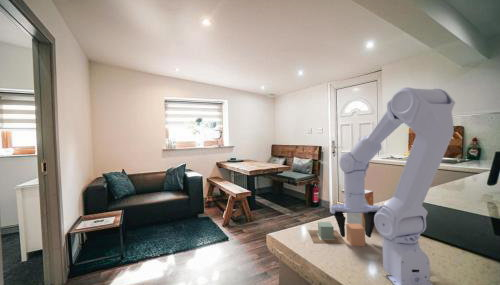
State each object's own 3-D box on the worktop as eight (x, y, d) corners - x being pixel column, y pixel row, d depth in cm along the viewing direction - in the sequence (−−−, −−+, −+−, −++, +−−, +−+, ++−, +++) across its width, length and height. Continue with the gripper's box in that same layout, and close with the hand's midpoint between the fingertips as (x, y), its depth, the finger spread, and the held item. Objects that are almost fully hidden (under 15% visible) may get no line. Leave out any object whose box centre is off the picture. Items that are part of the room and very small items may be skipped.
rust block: (365, 248, 64) (364, 228, 64) (351, 248, 64) (351, 228, 64) (359, 242, 68) (359, 223, 68) (346, 242, 68) (346, 223, 68)
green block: (333, 239, 69) (333, 226, 69) (321, 239, 69) (320, 226, 69) (330, 233, 73) (329, 222, 73) (318, 233, 73) (317, 222, 73)
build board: (346, 246, 66) (346, 243, 66) (313, 246, 66) (313, 243, 66) (336, 232, 76) (336, 230, 76) (307, 232, 76) (307, 229, 76)
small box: (362, 230, 77) (362, 194, 77) (346, 224, 82) (345, 191, 82) (374, 225, 81) (373, 190, 81) (358, 220, 86) (357, 188, 86)
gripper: (372, 189, 70) (373, 230, 70) (326, 189, 71) (327, 230, 71) (384, 194, 63) (385, 240, 63) (333, 194, 64) (334, 240, 64)
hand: (355, 235), depth 66 cm, fingers open, 7 cm apart
